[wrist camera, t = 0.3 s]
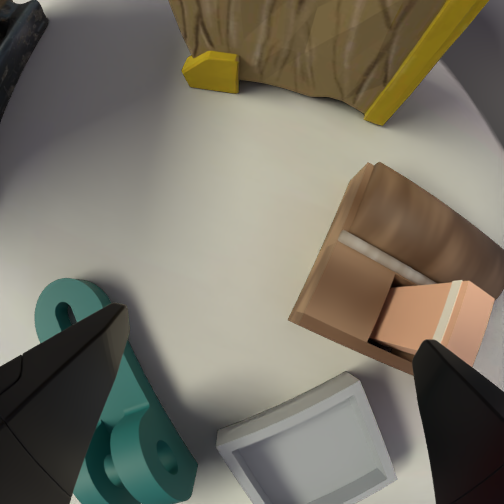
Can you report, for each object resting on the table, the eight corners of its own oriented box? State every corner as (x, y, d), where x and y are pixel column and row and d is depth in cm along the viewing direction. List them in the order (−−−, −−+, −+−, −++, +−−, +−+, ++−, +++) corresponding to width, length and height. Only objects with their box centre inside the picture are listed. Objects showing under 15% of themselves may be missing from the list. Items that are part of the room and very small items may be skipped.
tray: (383, 464, 22) (397, 479, 19) (273, 516, 20) (277, 536, 17) (345, 371, 23) (359, 380, 20) (217, 430, 21) (215, 446, 18)
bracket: (198, 463, 21) (186, 519, 13) (132, 481, 20) (104, 531, 13) (98, 266, 23) (45, 253, 15) (39, 298, 22) (-21, 296, 14)
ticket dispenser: (424, 380, 23) (472, 398, 16) (287, 319, 23) (309, 329, 16) (468, 255, 25) (518, 245, 18) (349, 181, 25) (384, 145, 18)
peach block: (382, 346, 23) (471, 371, 12) (358, 334, 23) (441, 357, 12) (402, 300, 24) (495, 298, 13) (378, 287, 24) (468, 279, 13)
